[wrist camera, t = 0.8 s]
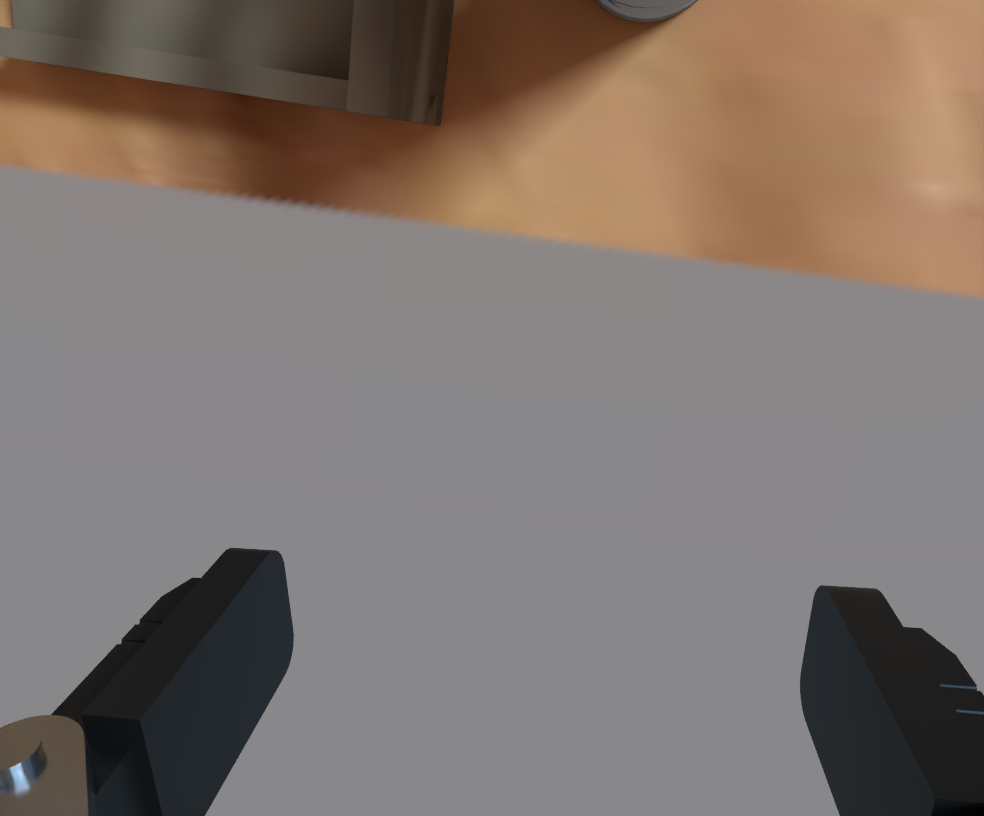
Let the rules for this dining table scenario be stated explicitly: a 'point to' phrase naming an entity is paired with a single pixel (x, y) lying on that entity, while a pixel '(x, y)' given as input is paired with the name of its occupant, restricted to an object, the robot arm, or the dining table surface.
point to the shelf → (254, 47)
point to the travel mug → (645, 9)
